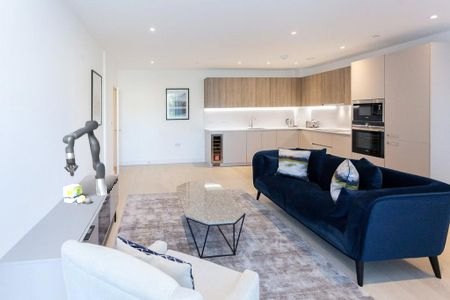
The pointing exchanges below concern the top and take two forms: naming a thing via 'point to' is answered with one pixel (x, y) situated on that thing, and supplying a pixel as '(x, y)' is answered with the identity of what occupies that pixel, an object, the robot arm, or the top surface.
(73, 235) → the top surface
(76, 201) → the plate
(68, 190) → the tea box
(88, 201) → the grey rounded-end block
